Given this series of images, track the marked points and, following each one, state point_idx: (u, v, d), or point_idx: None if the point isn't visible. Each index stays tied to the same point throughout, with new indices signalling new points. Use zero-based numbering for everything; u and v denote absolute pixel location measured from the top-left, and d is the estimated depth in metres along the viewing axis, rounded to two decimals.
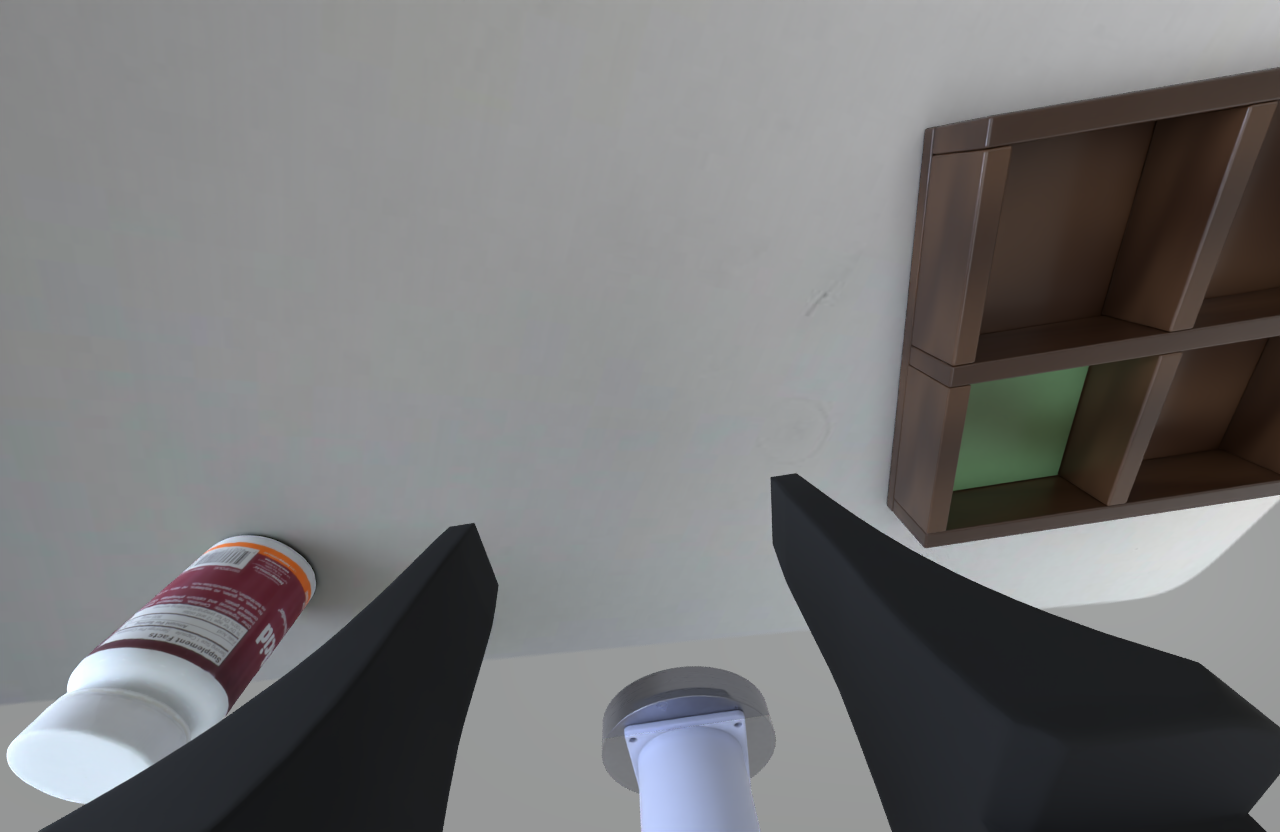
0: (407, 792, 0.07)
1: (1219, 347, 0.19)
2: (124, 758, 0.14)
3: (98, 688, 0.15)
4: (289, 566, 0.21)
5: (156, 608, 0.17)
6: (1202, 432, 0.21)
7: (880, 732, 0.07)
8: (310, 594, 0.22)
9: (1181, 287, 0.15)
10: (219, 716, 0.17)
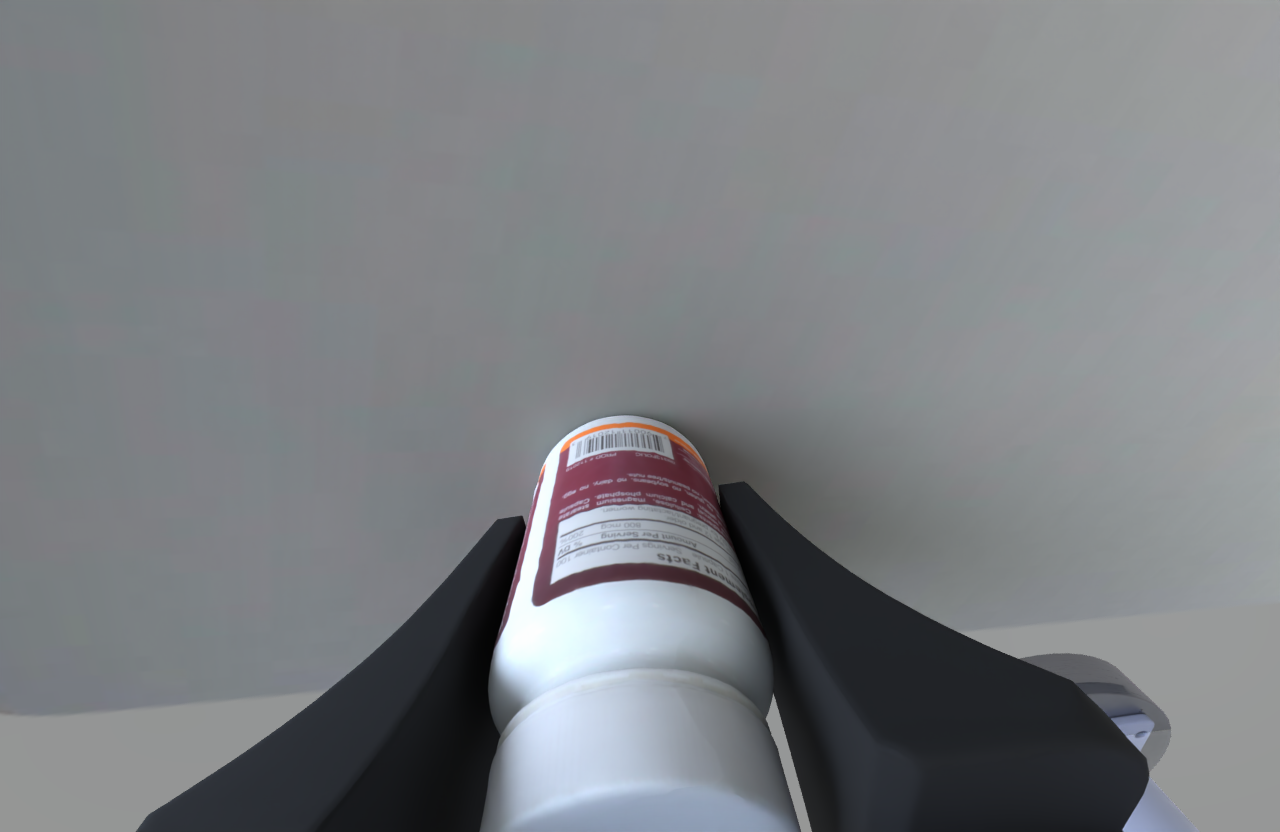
0: (479, 782, 0.07)
1: None
2: None
3: (636, 672, 0.06)
4: (705, 468, 0.12)
5: (610, 511, 0.08)
6: None
7: (802, 744, 0.07)
8: None
9: None
10: None
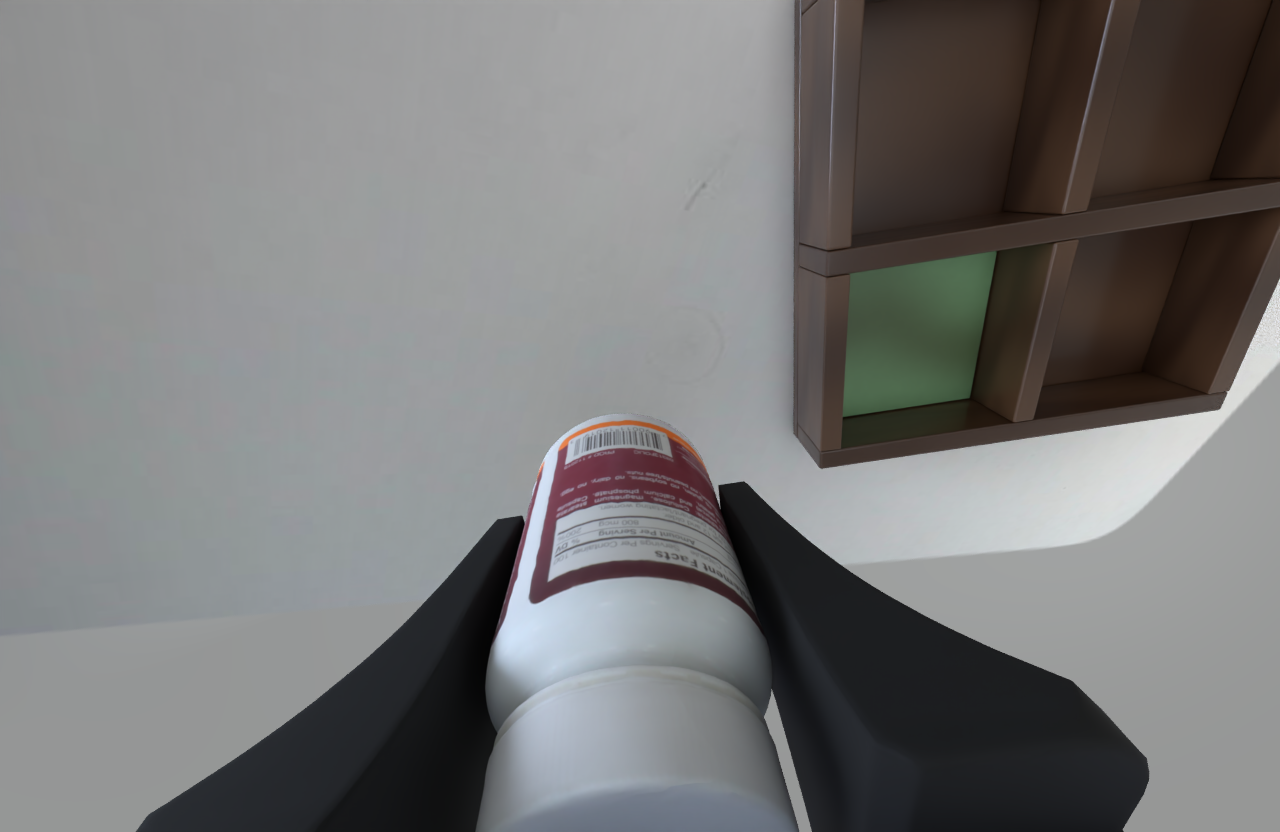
0: (479, 782, 0.07)
1: (1133, 253, 0.18)
2: None
3: (634, 670, 0.06)
4: (703, 466, 0.12)
5: (608, 509, 0.08)
6: (1122, 352, 0.19)
7: (801, 743, 0.07)
8: None
9: (1071, 161, 0.14)
10: None
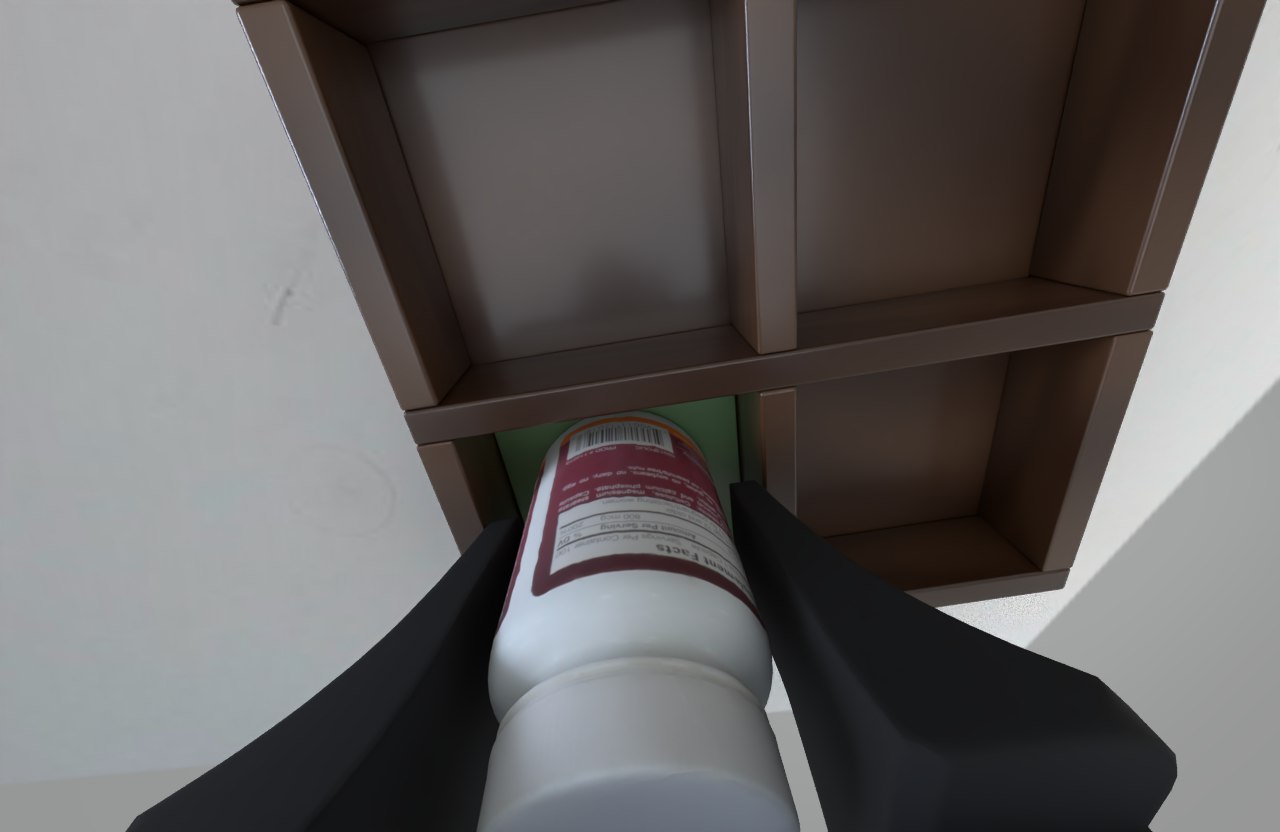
0: (471, 783, 0.07)
1: (937, 372, 0.12)
2: None
3: (636, 660, 0.06)
4: (704, 463, 0.12)
5: (610, 503, 0.08)
6: (946, 492, 0.14)
7: (818, 741, 0.07)
8: None
9: (754, 279, 0.09)
10: None
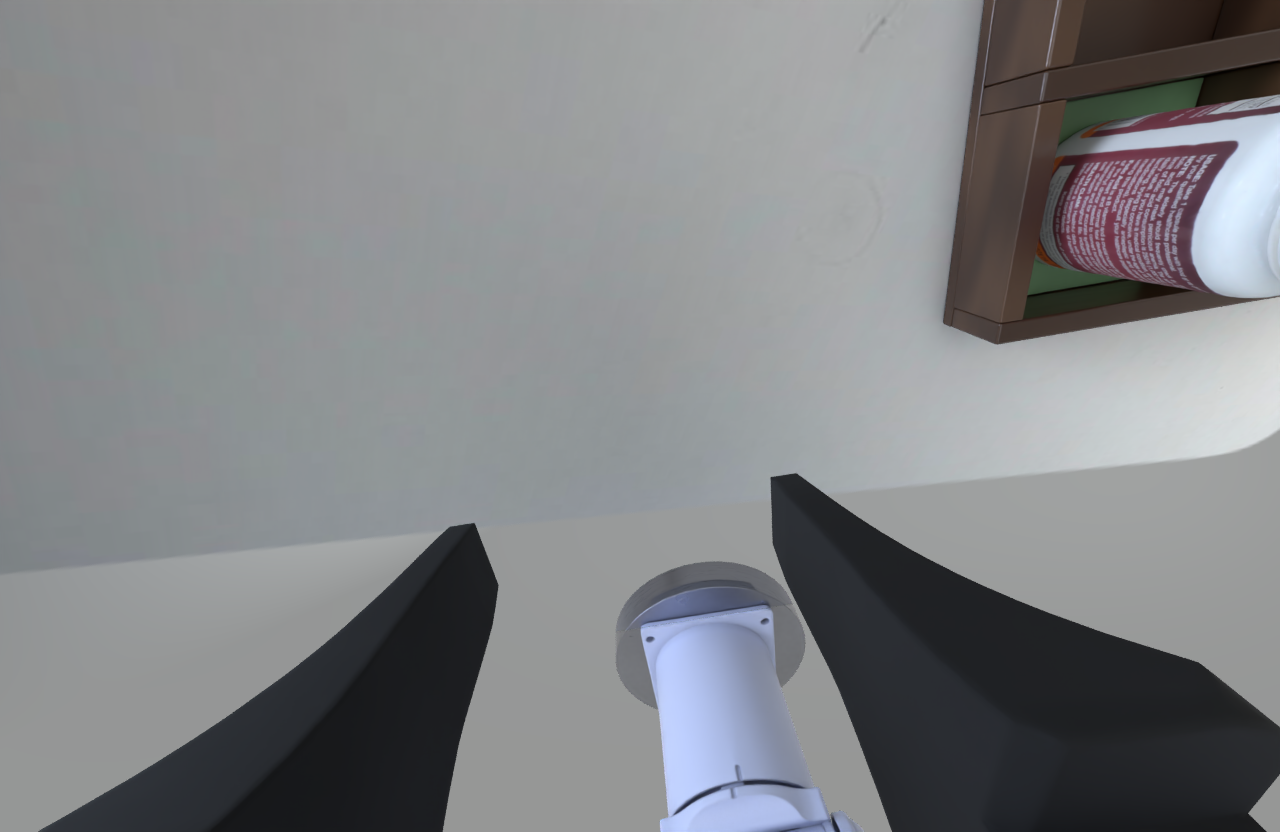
0: (407, 792, 0.07)
1: None
2: None
3: None
4: None
5: (1254, 98, 0.12)
6: None
7: (880, 732, 0.07)
8: None
9: None
10: None
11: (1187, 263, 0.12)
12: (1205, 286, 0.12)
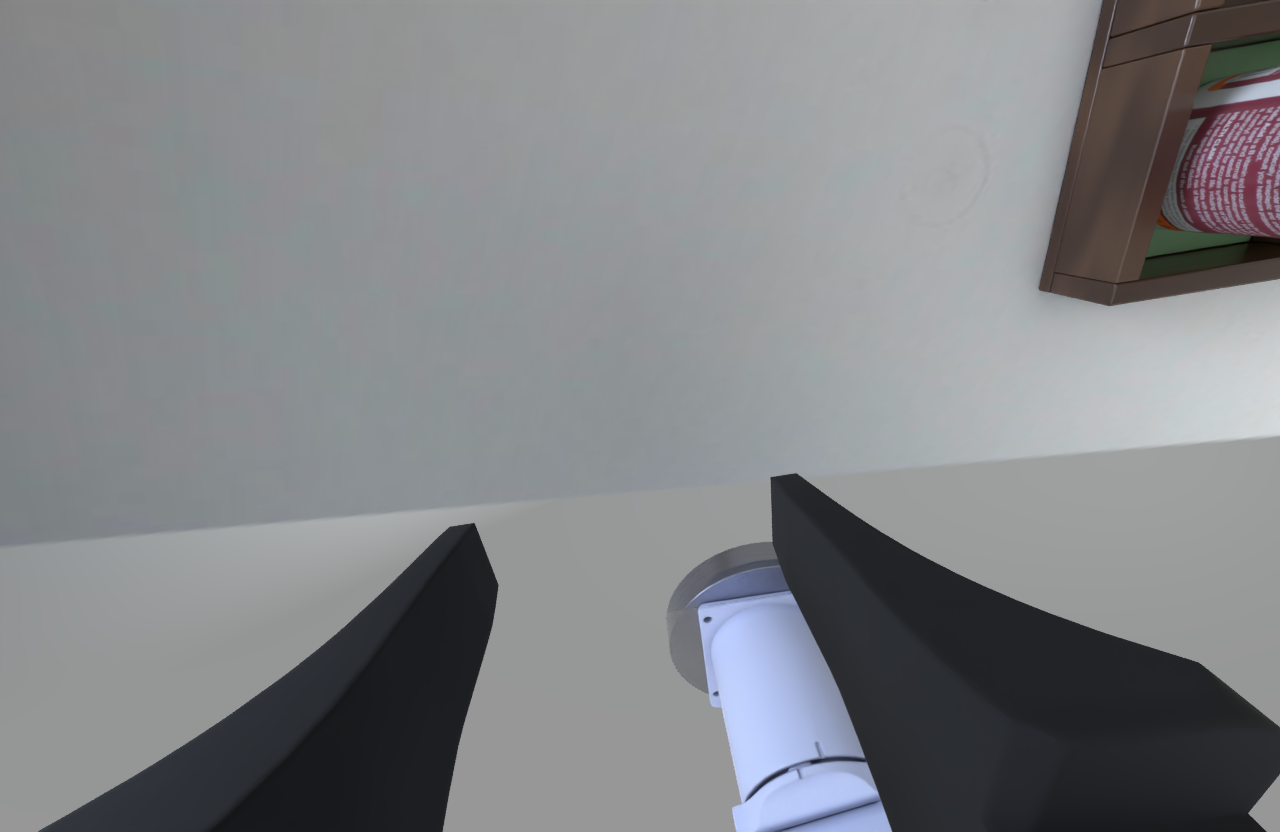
0: (407, 792, 0.07)
1: None
2: None
3: None
4: None
5: None
6: None
7: (880, 732, 0.07)
8: None
9: None
10: None
11: None
12: None
